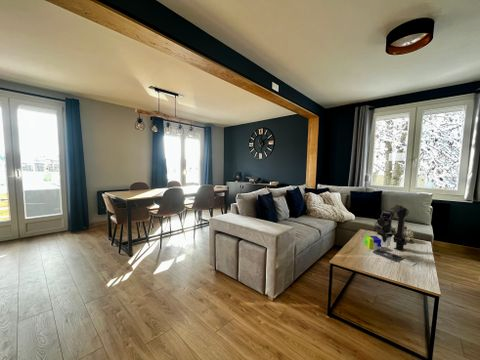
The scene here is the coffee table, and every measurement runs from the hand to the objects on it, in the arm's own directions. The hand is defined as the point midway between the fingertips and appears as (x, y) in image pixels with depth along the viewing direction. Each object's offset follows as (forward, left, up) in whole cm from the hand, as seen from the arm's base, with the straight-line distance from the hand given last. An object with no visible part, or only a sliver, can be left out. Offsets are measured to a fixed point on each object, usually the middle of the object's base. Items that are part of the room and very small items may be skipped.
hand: (385, 241), depth 174 cm
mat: (-3, +16, -12) cm, 20 cm away
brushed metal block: (0, 0, -3) cm, 3 cm away
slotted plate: (0, +2, -12) cm, 12 cm away
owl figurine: (-56, -10, -13) cm, 58 cm away
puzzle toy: (-7, -14, -13) cm, 20 cm away
